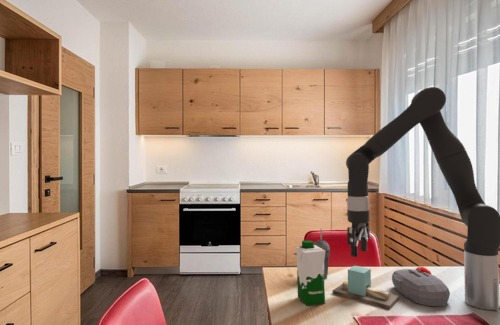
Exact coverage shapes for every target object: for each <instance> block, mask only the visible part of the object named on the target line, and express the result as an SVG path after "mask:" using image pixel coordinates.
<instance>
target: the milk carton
mask: <svg viewBox="0 0 500 325" xmlns="http://www.w3.org/2000/svg"><path fill="white" fill-rule="evenodd" d="M314 243H315V242H314V241H313V240H311V239H310V240H309V239H304V240H302V241H301V246H300V245H299V246H295V250H296V268H297V269H296V271H297V272H296V274H297V275H296V276H297V277H296V279H297V280H296V283H297V288H296V289H297V298H298V299H299V300H300V301H301V302H302V303H303V304H304V305H305V306H306V307H308V306H314V305H315V306H317V305H322V304H326V294H325V291H326V290H325V280H324V258H325V252H326V251H325V250H323V249H322V248H320V247H318V246H316V245H314Z"/></svg>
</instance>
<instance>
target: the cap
mask: <svg viewBox="0 0 500 325" xmlns="http://www.w3.org/2000/svg"><path fill="white" fill-rule="evenodd" d="M416 269H419V270H420V271H423V272H425V273H428V274H431V275H433V274H432V272H431V271H430V270H429V269H428V268H427V267H424V266H417V267H416V268H415V269H414V270H416Z"/></svg>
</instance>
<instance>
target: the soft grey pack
mask: <svg viewBox="0 0 500 325" xmlns="http://www.w3.org/2000/svg"><path fill="white" fill-rule="evenodd" d="M415 269H416V268H415ZM415 269H414V268H413V269H412V268H411V269H410V268H404V269H403V268H402V269H397V270H394V271H393V273H392V275H391V282H392V285H393V287H394V288H395V289H396V290H397V291H398V292H399V293H401V295H402V296H404V297H405V298H406V299H408V300H410V301H412V302H414V303H417V304H420V305H424V306H428V307H441V306H446V304H447V303H448V302H449V298H450V295H451V293H450V290H449V288H448V286H447V285H446V284H445V283H444V282H443V280H442V279H440V278H438V277H437V276H436V275H434V274H432V273H431V274H432V275H431V274H428V273H425V272H423V271H420V270H419V269H416V270H415Z"/></svg>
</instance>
